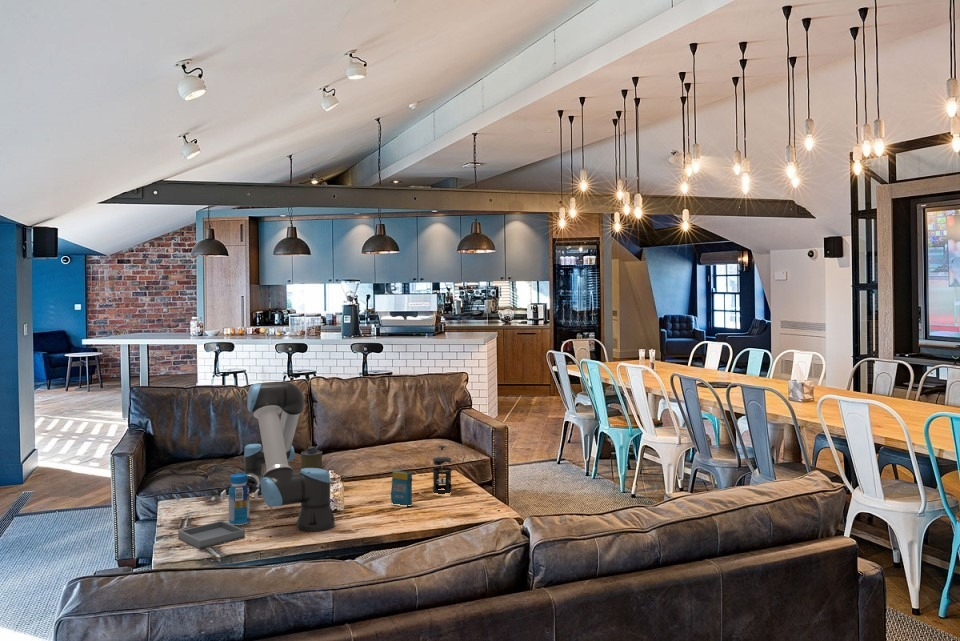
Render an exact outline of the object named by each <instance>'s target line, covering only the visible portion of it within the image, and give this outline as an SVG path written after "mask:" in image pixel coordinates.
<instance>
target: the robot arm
mask: <svg viewBox="0 0 960 641" xmlns="http://www.w3.org/2000/svg"><path fill="white" fill-rule="evenodd" d="M247 393H248V394H247V402H246V404H247V410H248V412H250V413H252V415H253V417H254V418H256V419H257V420H258V425H259V432H260V438H261V443H249V444H246V445H245V447H244V451H243V452H244V453H243V457H244V459H243V460H244V474H247V483H246V484H247V486H248V487H249V495H251V494H254V500H257V499H258V498H259V497H262V499H263V502H264V503H265V505H266V506H268V507H269V508H270V507H271V508H274V507H282V506H288V505H296V504H300V510H299V514H298V517H297V520H296V529H297V530H300V531H302V532H320V531H321V532H322V531H327V530H329V529H332V528H334V527H335V525H336V520H335V516H334V513H333V511H332V508H331V475H330V472H329V471H328V470H327V469H323V468H322V469H318V468H304V469H301V468H300V471H299V473H295V472H294V468H292V467H291V466H290V465H289V462H291V461H293V460H294V459H295V448H294V446H293V445H292V444H293V440H294V437H295V434H296V431H297V430H296V429H297V426H298V422H299V419H300V415H301V413H303V412H304V409H305V401H306V400H305V396H304V393H303V391H302V390H301V389H300V388H299V387H298V386H297V385H296V384H294V383H292V382H290V381H281V382H280V381H278V382H276V381H275V382H263V383H262V382H259V383H253V384H251V385H250V387H249V389H248V392H247ZM280 415H281V416H280ZM263 465H265V468H266V471H265V472H264V473H263V469H262V468H263ZM231 485H232V484H231V483H230V484H229V485H227V486H225V487H221V488H219V489H217V496H218V497H220V501H224V500H225V498H226V497H227V496H229V489H230V487H231Z"/></svg>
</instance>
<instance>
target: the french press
mask: <svg viewBox="0 0 960 641" xmlns="http://www.w3.org/2000/svg"><path fill="white" fill-rule="evenodd" d="M437 448H439V449H440V451H443V450H444V449H445V448H447V446H446V445H438V446H437ZM432 461H433V465H435V466H436V467H433V468H432V474H433V477H432V478H433V480H432V481H433V483H432V493H433V492H434V493H438V494H445V493H450V492H451V491H453V487H452V470H453V468H451V467H447V466H443V464H444V463H450V464H451V463H452V462H451V461H452V458H451V457H448V456H436V457H434V458H432ZM438 466H439V467H438ZM440 475H441V478H440ZM443 475H445V478H443ZM441 488H444V489H445V490H438V489H441Z"/></svg>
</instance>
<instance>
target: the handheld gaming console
mask: <svg viewBox="0 0 960 641" xmlns="http://www.w3.org/2000/svg"><path fill="white" fill-rule="evenodd" d="M412 485H413V474H412V472H410V471H409V472H408V471H399V470H393V471H391V489H390V490H391V491H390V499H391V501H390V502H391V504H392V503H393V504H400V505H407V506H408V505H411V504H412V505H413V486H412Z"/></svg>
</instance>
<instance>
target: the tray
mask: <svg viewBox="0 0 960 641" xmlns="http://www.w3.org/2000/svg"><path fill="white" fill-rule="evenodd" d="M245 531H246V530H245V529H243V528H241V527H238V526H234V525H232V524H229V522H227V521H225V520H219V521H215V522H211V523H205V524H201V525H198V526H192V527H190V528H185V529H182V530H177V532H178V533H177V535H178V536H177V538H179V539H178V540H180V541H182V542H185V543H186V544H188V543H189V545H190V546H192V547H195V548H196V549H199V550H201V549H202V550H203V549H207V548H209V546H211V547H213V546H218V545H221V544H220V543H222V544H225V543H224V542H226V543H229V542H228V541H230V542H233V541H232V540H234V541H236V540H235V539H238V540H240V539H239V538H242V539H245V538H246V532H245ZM244 537H245V538H244ZM217 544H218V545H217Z"/></svg>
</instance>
